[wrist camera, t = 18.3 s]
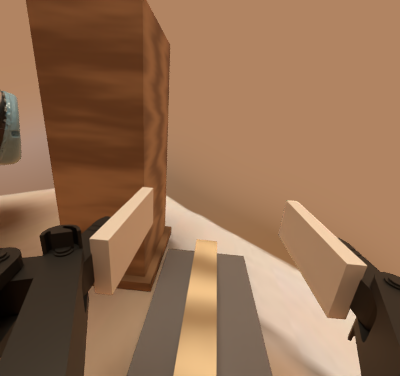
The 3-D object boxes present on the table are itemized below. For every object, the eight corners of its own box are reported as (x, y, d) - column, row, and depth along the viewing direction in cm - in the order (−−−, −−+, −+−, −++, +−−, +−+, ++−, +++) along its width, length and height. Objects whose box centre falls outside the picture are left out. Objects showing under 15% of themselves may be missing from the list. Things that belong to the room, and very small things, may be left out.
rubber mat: (317, 578, 10) (320, 574, 10) (73, 545, 10) (71, 541, 10) (242, 259, 33) (243, 256, 32) (168, 251, 33) (168, 248, 33)
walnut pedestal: (150, 291, 25) (151, -14, 16) (55, 281, 25) (0, -25, 16) (171, 232, 39) (178, 47, 29) (108, 226, 39) (95, 41, 29)
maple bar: (206, 762, 7) (215, 756, 6) (117, 741, 7) (111, 732, 6) (214, 258, 31) (216, 241, 30) (195, 256, 31) (196, 239, 31)
